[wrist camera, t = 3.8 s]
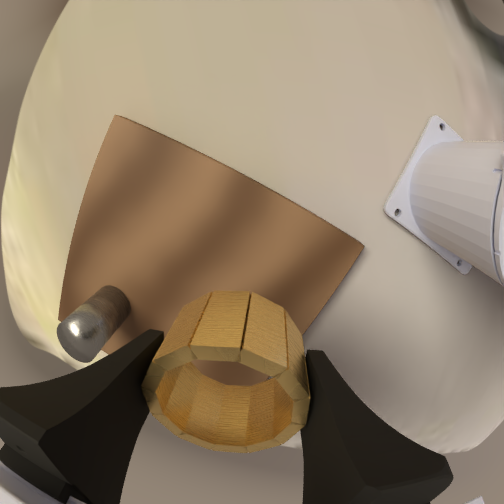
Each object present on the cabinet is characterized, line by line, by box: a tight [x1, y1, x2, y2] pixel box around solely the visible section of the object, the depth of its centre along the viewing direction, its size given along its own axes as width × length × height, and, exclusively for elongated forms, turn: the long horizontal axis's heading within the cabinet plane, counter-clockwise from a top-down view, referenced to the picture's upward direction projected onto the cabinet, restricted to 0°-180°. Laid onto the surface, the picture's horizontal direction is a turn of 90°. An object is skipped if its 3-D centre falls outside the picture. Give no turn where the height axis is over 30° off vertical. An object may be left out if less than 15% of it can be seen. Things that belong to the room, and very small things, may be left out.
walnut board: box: [58, 115, 364, 386], centre depth 19 cm, size 18×18×1 cm
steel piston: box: [57, 285, 131, 363], centre depth 17 cm, size 3×3×6 cm
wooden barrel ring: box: [141, 291, 310, 453], centre depth 10 cm, size 5×5×4 cm
